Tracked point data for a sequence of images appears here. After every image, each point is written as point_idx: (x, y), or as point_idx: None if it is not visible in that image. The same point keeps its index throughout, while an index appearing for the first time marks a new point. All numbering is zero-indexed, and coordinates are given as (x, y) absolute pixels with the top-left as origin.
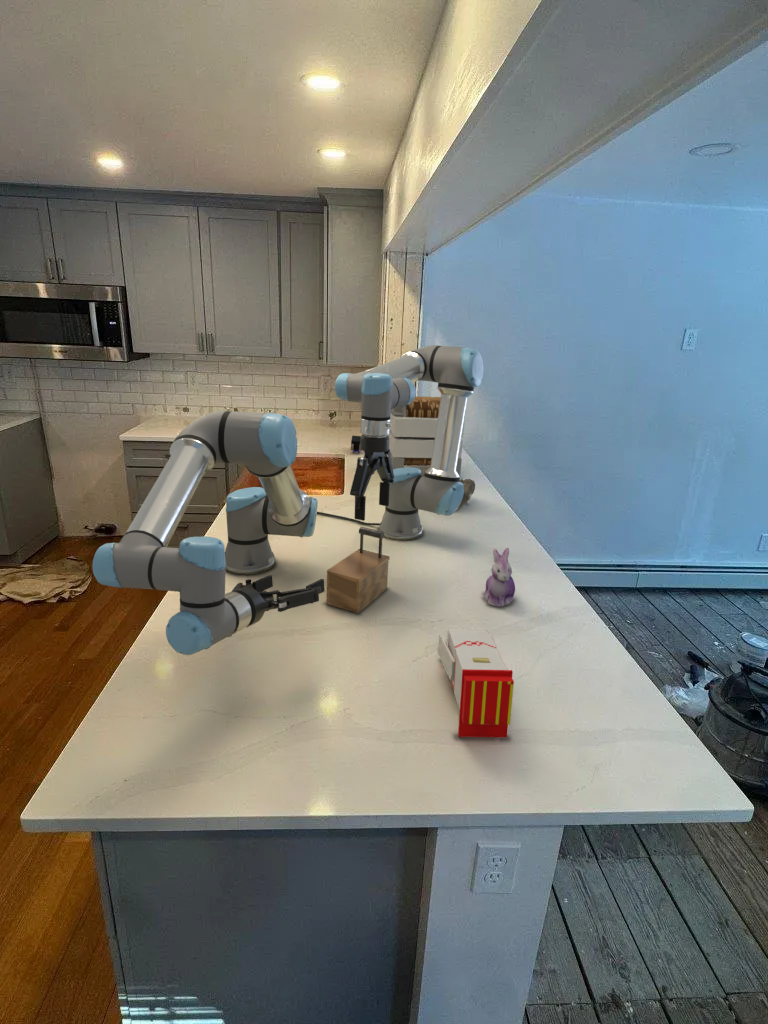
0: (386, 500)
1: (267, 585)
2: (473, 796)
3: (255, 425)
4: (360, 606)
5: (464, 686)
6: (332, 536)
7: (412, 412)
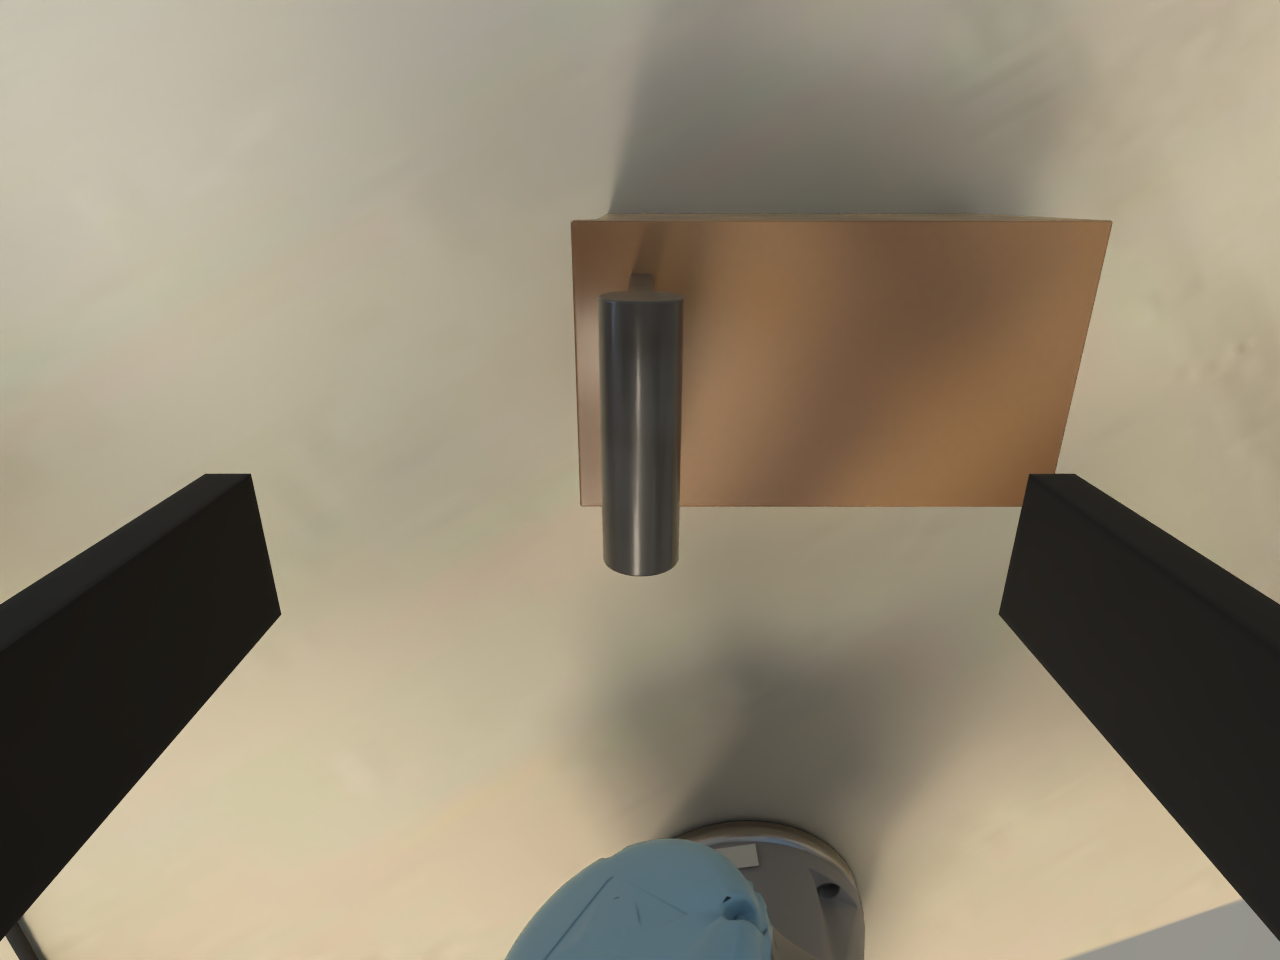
0: (195, 541)
1: None
2: None
3: None
4: (967, 214)
5: None
6: (222, 797)
7: None
